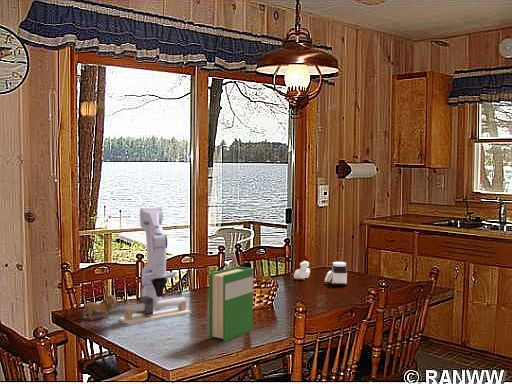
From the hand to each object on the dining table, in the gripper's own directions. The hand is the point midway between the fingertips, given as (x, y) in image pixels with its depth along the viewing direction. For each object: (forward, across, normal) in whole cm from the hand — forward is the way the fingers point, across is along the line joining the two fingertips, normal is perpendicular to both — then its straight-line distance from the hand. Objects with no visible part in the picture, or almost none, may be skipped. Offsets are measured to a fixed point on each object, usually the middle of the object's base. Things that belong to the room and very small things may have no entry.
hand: (159, 296), depth 252 cm
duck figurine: (+9, +102, +23) cm, 105 cm away
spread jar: (+9, +106, +2) cm, 106 cm away
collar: (+6, -6, 0) cm, 9 cm away
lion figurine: (+9, -21, +12) cm, 26 cm away
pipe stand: (+8, -2, 0) cm, 8 cm away
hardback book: (+8, +9, -39) cm, 41 cm away
